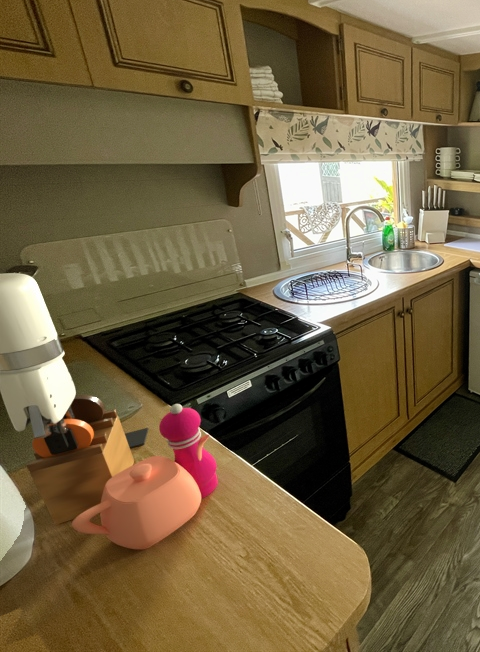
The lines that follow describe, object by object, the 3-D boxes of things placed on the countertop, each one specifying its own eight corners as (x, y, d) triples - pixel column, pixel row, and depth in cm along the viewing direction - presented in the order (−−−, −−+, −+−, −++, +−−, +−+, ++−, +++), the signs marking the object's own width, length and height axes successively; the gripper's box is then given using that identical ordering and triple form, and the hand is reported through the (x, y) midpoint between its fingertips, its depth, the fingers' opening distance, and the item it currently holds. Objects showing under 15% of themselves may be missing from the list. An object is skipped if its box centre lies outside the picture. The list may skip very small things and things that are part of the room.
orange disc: (40, 465, 62) (25, 431, 60) (44, 459, 63) (28, 426, 61) (97, 450, 66) (84, 418, 63) (99, 445, 67) (86, 413, 64)
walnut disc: (57, 436, 69) (43, 405, 66) (60, 431, 70) (46, 400, 67) (108, 424, 72) (96, 394, 70) (109, 420, 73) (98, 390, 71)
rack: (55, 525, 65) (25, 465, 60) (76, 477, 74) (52, 422, 70) (122, 503, 70) (100, 446, 65) (134, 461, 79) (115, 408, 74)
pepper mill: (222, 470, 78) (202, 389, 71) (218, 496, 72) (195, 411, 65) (180, 481, 75) (155, 398, 68) (172, 510, 69) (143, 422, 62)
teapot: (240, 493, 73) (228, 444, 68) (110, 589, 56) (84, 532, 52) (201, 466, 78) (188, 419, 74) (73, 546, 62) (47, 492, 57)
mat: (108, 454, 80) (108, 452, 80) (115, 437, 85) (114, 436, 85) (144, 444, 83) (143, 443, 83) (148, 428, 88) (148, 427, 88)
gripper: (13, 337, 62) (53, 427, 68) (-39, 384, 49) (16, 488, 56) (75, 329, 65) (107, 414, 72) (42, 370, 53) (84, 469, 60)
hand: (67, 446), depth 64 cm, fingers closed on orange disc, 1 cm apart
